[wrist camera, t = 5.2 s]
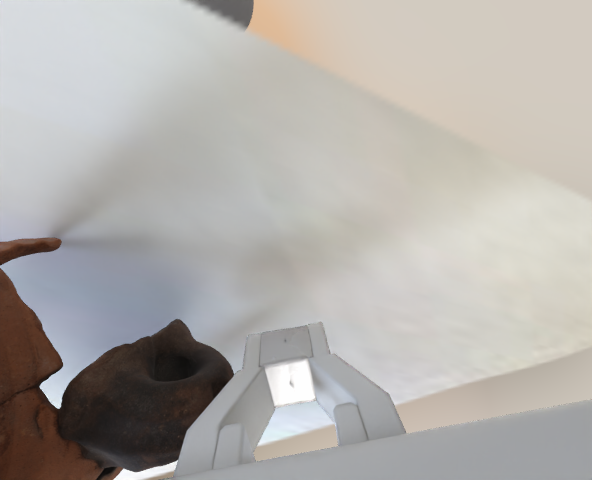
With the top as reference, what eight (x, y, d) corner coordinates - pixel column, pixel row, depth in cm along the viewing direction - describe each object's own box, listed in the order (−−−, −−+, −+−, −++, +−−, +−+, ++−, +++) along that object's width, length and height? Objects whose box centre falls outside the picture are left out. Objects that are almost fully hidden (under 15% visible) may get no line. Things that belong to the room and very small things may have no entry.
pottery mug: (74, 426, 15) (-263, 623, 7) (68, 253, 16) (-241, 250, 8) (285, 438, 12) (122, 802, 4) (265, 223, 13) (93, 170, 5)
